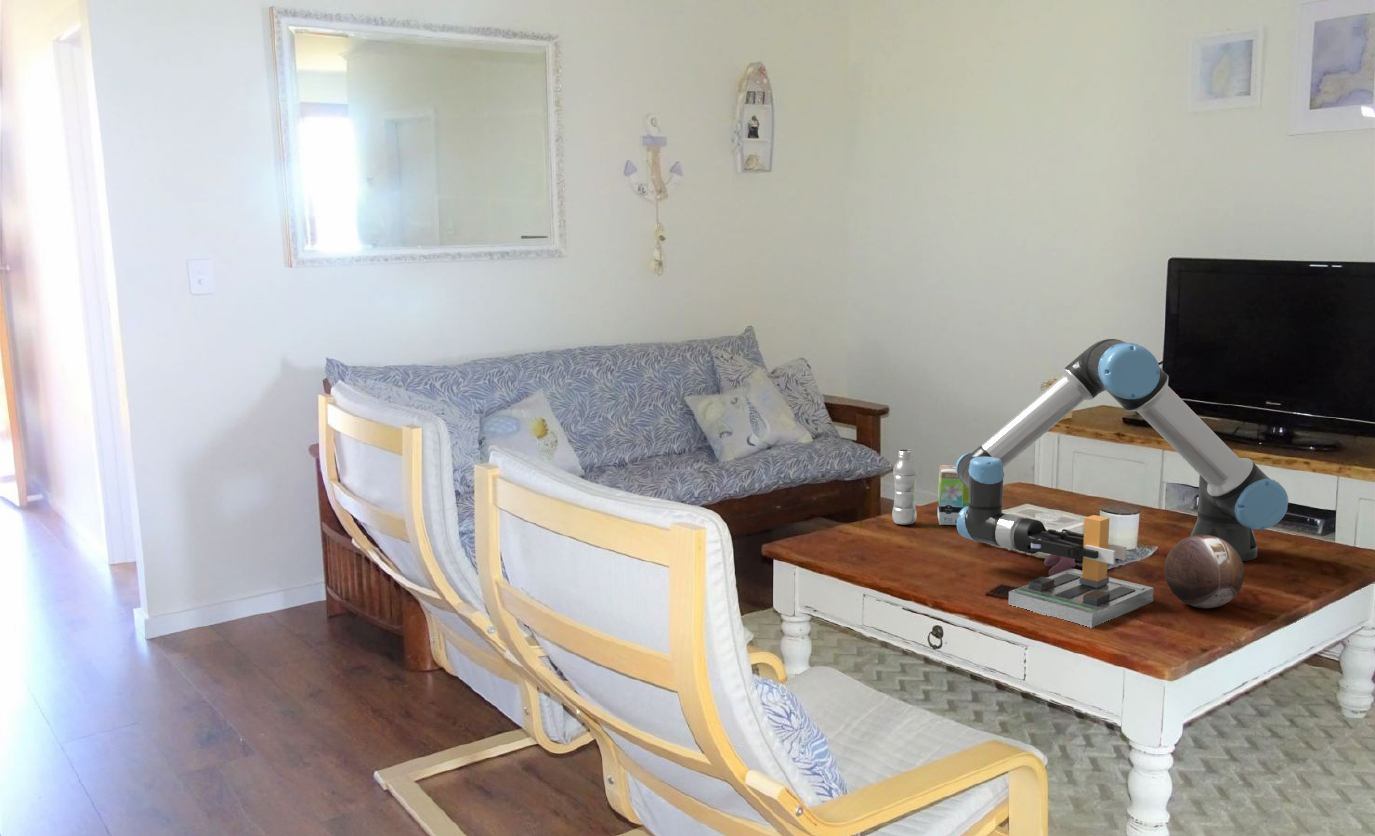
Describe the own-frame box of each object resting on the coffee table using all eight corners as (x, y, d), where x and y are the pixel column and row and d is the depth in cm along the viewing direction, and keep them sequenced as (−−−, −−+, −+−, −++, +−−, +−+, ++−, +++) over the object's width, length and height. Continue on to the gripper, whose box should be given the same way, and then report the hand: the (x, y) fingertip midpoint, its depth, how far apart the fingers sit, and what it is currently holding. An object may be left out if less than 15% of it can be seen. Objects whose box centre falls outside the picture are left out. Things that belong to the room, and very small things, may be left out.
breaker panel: (1071, 581, 254) (1072, 561, 253) (1152, 601, 239) (1154, 580, 239) (1008, 605, 238) (1009, 584, 238) (1091, 628, 224) (1092, 605, 223)
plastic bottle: (889, 526, 303) (890, 452, 300) (894, 520, 309) (895, 447, 306) (913, 528, 301) (915, 453, 297) (918, 521, 307) (920, 448, 304)
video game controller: (1065, 585, 256) (1081, 558, 255) (1047, 575, 257) (1062, 549, 255) (1059, 572, 266) (1074, 546, 264) (1041, 563, 266) (1056, 537, 265)
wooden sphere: (1204, 622, 226) (1208, 549, 224) (1146, 600, 240) (1150, 531, 238) (1258, 611, 232) (1263, 540, 230) (1199, 591, 246) (1203, 523, 243)
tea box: (939, 526, 302) (940, 471, 300) (937, 516, 312) (938, 463, 310) (997, 527, 300) (999, 472, 298) (993, 518, 310) (995, 464, 307)
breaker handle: (1091, 578, 245) (1094, 514, 242) (1108, 582, 242) (1111, 517, 239) (1079, 583, 242) (1082, 518, 239) (1096, 587, 239) (1099, 521, 236)
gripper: (1042, 543, 260) (1139, 565, 242) (998, 557, 249) (1097, 581, 232) (1043, 511, 259) (1141, 530, 241) (999, 524, 248) (1099, 545, 230)
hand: (1119, 555), depth 236 cm, fingers closed on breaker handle, 4 cm apart
